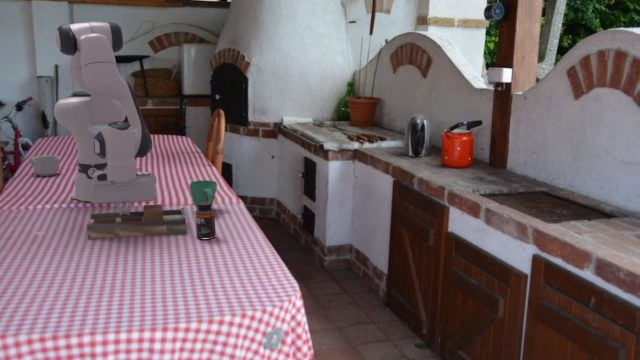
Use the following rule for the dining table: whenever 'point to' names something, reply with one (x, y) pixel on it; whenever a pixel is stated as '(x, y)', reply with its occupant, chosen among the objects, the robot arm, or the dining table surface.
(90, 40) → the robot arm
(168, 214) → the wooden compartment tray
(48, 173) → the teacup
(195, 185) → the mug
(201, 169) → the dining table surface
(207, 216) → the supplement bottle
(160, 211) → the block
